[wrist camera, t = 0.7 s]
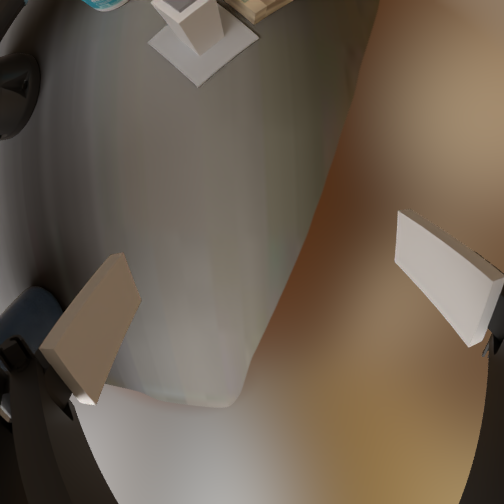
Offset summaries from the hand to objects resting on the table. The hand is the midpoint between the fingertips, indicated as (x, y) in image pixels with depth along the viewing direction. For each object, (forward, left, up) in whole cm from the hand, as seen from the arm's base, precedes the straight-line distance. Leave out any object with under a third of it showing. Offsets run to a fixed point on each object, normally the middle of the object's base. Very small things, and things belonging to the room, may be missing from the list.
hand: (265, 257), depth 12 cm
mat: (-18, +8, -24) cm, 31 cm away
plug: (-18, +8, -24) cm, 30 cm away
